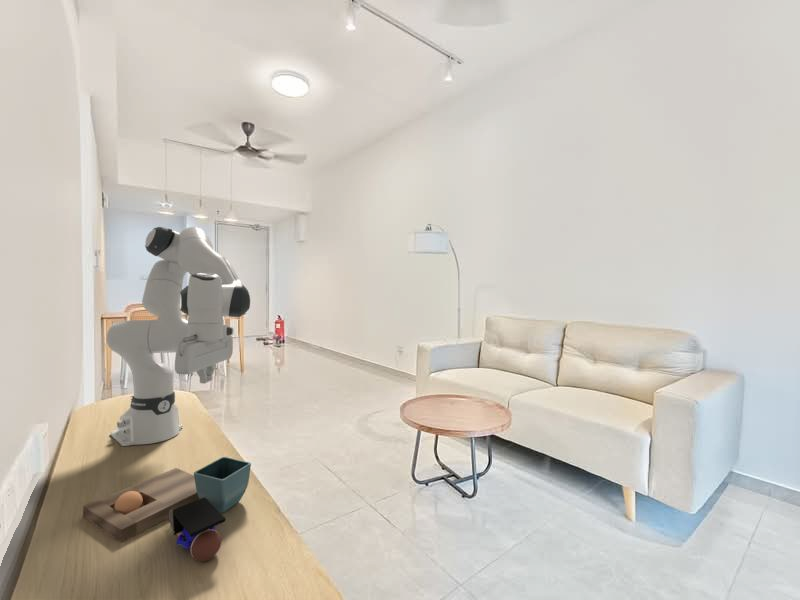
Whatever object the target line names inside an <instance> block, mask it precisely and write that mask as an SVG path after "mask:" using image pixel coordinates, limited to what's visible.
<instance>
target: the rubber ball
mask: <svg viewBox="0 0 800 600" xmlns="http://www.w3.org/2000/svg"><path fill="white" fill-rule="evenodd" d="M142 502H143V499H142V496H141V494H140V493H138V492H136V491H129V492H126V493H124V494H122V495H121V496H120V497H119V498H118V499H117V501H116V503H115V510H117V511H118V512H120V513H122V514H123V515H126V514H128V513H130V512H132V511H134V510H136V509H139V508H141V507H142V505H143V503H142Z"/></svg>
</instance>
